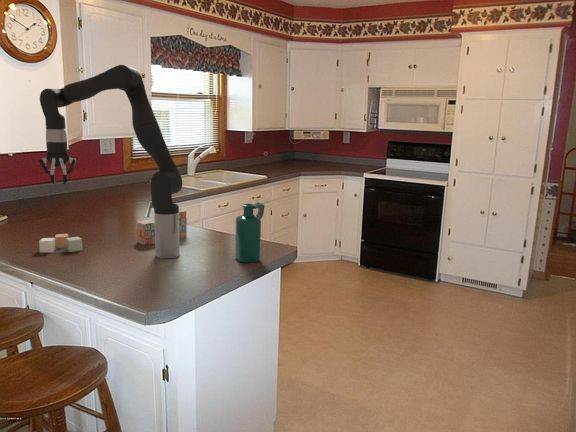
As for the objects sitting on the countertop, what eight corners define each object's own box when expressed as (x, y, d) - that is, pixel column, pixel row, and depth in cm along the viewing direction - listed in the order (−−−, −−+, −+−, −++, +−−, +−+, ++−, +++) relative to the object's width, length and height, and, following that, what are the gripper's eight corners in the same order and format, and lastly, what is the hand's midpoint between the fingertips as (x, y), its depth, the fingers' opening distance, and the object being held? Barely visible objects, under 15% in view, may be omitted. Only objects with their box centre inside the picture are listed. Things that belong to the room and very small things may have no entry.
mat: (81, 253, 185) (81, 251, 185) (38, 255, 180) (38, 253, 180) (83, 245, 195) (83, 243, 195) (42, 247, 190) (42, 245, 190)
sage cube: (82, 250, 186) (81, 239, 185) (70, 251, 183) (69, 240, 182) (79, 247, 189) (78, 236, 188) (67, 249, 186) (66, 238, 185)
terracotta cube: (69, 247, 189) (68, 236, 188) (56, 248, 187) (55, 237, 186) (68, 244, 193) (67, 233, 192) (56, 245, 191) (55, 234, 190)
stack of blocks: (144, 245, 198) (143, 217, 196) (136, 242, 203) (135, 214, 200) (187, 237, 214) (186, 210, 211) (178, 234, 218) (178, 208, 216)
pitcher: (240, 263, 178) (241, 206, 174) (233, 257, 186) (234, 202, 181) (264, 261, 182) (266, 205, 178) (257, 255, 190) (258, 201, 185)
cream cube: (52, 252, 182) (51, 240, 181) (39, 252, 181) (39, 241, 180) (55, 249, 186) (55, 237, 185) (43, 249, 185) (42, 238, 184)
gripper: (35, 141, 182) (38, 185, 186) (75, 141, 187) (77, 184, 191) (38, 139, 189) (41, 182, 193) (76, 140, 194) (79, 182, 198)
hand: (59, 183), depth 192 cm, fingers open, 3 cm apart
